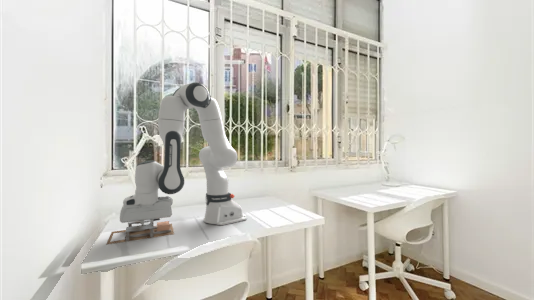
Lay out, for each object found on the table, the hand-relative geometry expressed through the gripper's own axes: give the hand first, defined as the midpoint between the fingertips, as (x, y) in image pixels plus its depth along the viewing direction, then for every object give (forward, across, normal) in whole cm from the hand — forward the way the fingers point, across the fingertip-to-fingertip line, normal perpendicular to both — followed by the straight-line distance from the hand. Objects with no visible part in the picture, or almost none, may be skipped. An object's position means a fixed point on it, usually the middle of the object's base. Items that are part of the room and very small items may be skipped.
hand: (147, 229), depth 103 cm
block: (+1, -6, 0) cm, 7 cm away
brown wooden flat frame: (+3, +2, 0) cm, 3 cm away
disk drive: (+4, +1, -22) cm, 22 cm away
